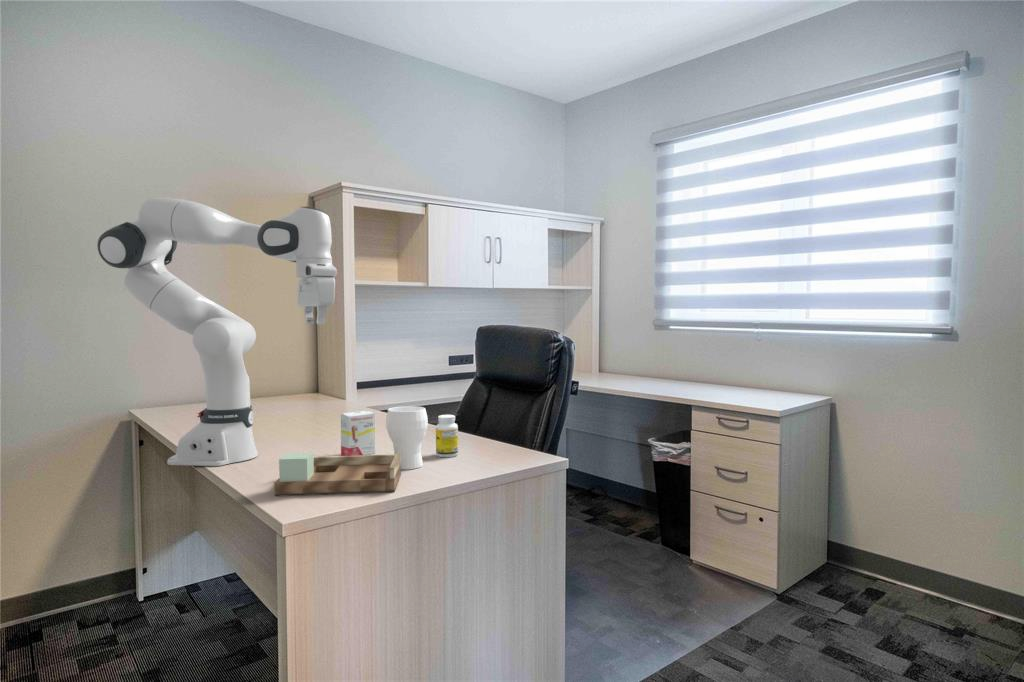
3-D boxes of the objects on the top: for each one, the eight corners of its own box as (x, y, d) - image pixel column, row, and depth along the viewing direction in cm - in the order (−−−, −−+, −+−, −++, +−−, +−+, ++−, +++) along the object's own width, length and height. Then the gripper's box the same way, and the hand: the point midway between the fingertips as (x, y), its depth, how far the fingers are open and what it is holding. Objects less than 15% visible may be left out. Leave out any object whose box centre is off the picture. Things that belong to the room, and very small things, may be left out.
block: (279, 481, 135) (278, 459, 135) (287, 474, 141) (286, 453, 141) (307, 480, 136) (306, 458, 136) (313, 473, 142) (313, 452, 142)
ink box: (348, 458, 169) (347, 415, 168) (340, 455, 173) (339, 413, 172) (376, 453, 175) (375, 412, 174) (368, 450, 178) (367, 410, 178)
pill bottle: (436, 452, 175) (435, 414, 174) (458, 452, 175) (457, 413, 175) (435, 458, 169) (435, 418, 168) (458, 457, 169) (457, 417, 169)
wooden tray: (274, 496, 135) (273, 471, 135) (293, 477, 150) (292, 455, 150) (394, 492, 137) (394, 467, 137) (400, 474, 152) (400, 452, 152)
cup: (380, 465, 161) (378, 408, 160) (416, 459, 168) (415, 404, 167) (398, 473, 153) (397, 413, 152) (435, 466, 159) (434, 409, 158)
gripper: (291, 272, 166) (292, 324, 166) (313, 268, 149) (314, 325, 149) (314, 273, 169) (315, 323, 170) (339, 269, 152) (340, 324, 153)
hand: (315, 324), depth 159 cm, fingers open, 8 cm apart
